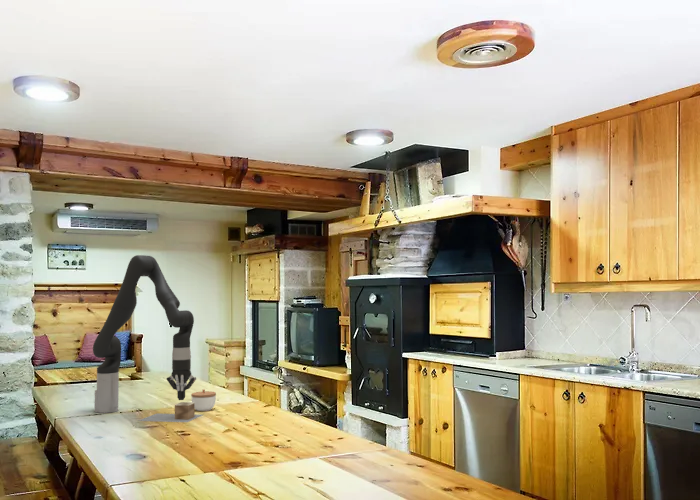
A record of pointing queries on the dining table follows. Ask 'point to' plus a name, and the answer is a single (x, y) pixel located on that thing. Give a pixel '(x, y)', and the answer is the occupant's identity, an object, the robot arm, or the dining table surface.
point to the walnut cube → (185, 410)
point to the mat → (166, 418)
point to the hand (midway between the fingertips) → (181, 399)
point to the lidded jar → (204, 400)
